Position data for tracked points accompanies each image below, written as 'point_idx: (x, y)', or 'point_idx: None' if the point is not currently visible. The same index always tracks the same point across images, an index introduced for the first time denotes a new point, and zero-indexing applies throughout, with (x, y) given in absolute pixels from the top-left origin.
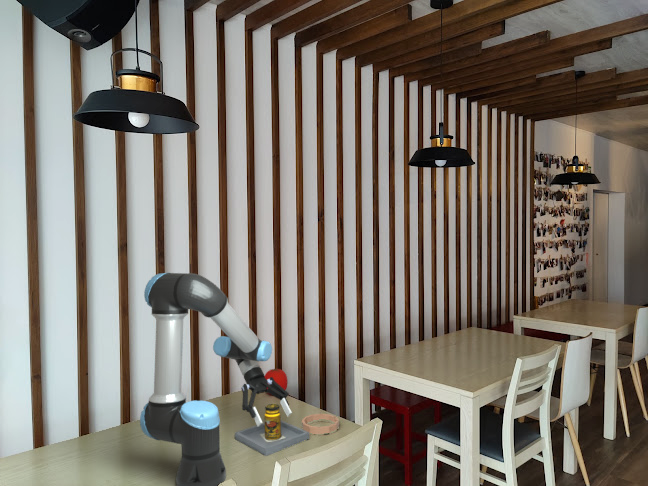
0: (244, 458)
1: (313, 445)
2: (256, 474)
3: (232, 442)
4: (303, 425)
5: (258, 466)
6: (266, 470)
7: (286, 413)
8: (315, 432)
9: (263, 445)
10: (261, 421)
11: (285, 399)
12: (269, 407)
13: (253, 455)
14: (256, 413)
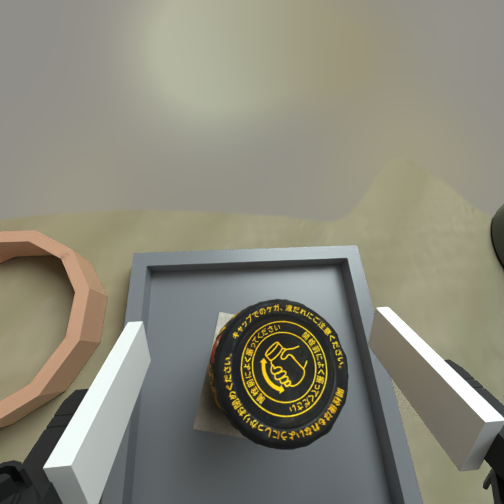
0: (415, 289)
1: (173, 216)
2: (409, 186)
3: (426, 479)
4: (84, 338)
5: (390, 216)
6: (378, 186)
7: (142, 372)
8: (91, 272)
9: (352, 275)
10: (383, 312)
11: (37, 465)
12: (321, 353)
13: (380, 288)
14: (440, 358)
